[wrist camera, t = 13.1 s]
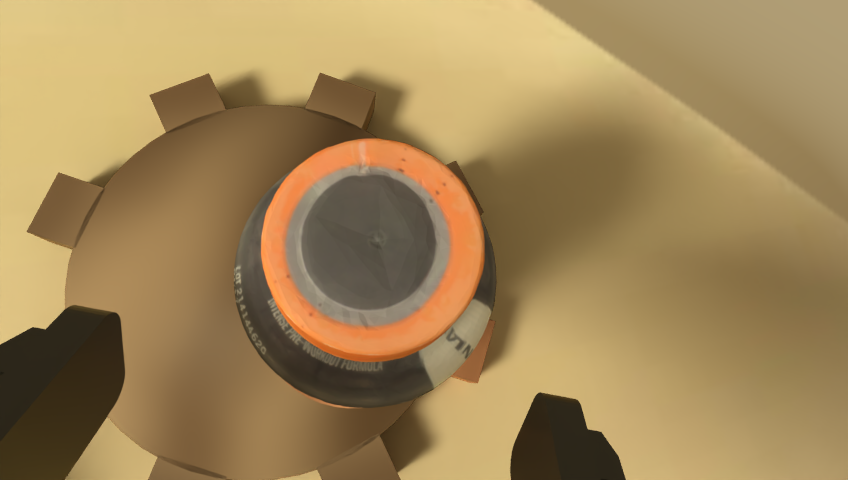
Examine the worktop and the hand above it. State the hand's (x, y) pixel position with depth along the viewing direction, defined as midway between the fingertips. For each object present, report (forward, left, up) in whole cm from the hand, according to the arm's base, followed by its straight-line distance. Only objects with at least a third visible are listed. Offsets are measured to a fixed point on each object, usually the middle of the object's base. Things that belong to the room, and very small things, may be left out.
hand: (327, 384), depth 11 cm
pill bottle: (0, -2, -10) cm, 10 cm away
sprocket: (+4, -3, -11) cm, 12 cm away
